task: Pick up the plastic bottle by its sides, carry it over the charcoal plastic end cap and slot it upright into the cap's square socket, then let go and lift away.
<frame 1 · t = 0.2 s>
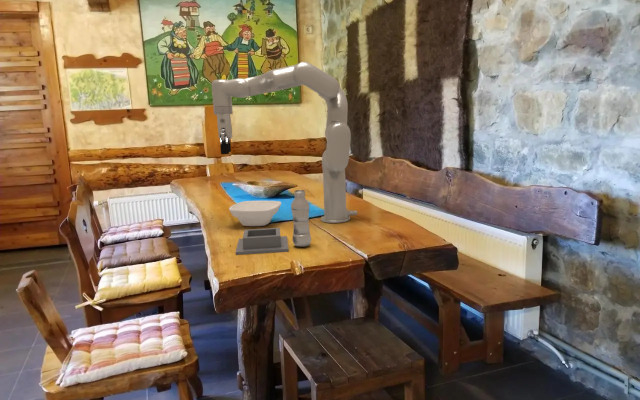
hand: (226, 153, 198), 31 cm above the table, tool pointing down, fingers open, 9 cm apart
plastic bottle: (302, 246, 170), on the table
bowl: (256, 225, 205), on the table
end cap: (262, 246, 172), on the table
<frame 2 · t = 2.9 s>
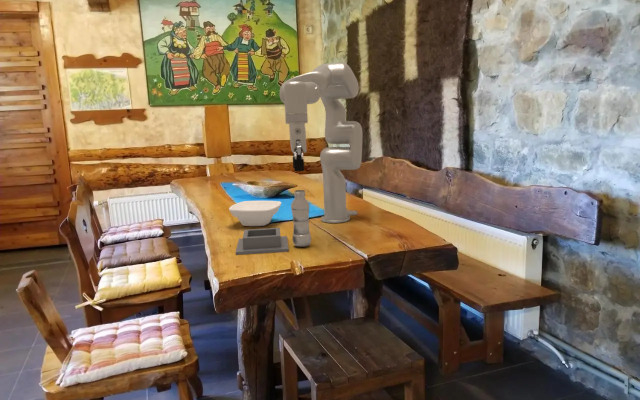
hand: (298, 169, 165), 28 cm above the table, tool pointing down, fingers open, 9 cm apart
nothing on the table moved.
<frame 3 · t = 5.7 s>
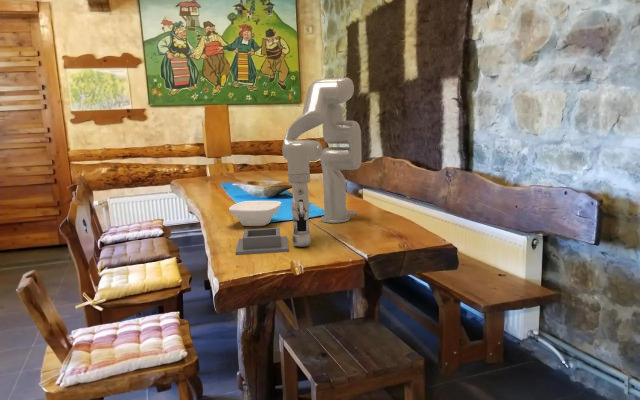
hand: (301, 228, 169), 7 cm above the table, tool pointing down, fingers closed on plastic bottle, 5 cm apart
plastic bottle: (302, 246, 170), on the table, touching gripper
everything else where it was.
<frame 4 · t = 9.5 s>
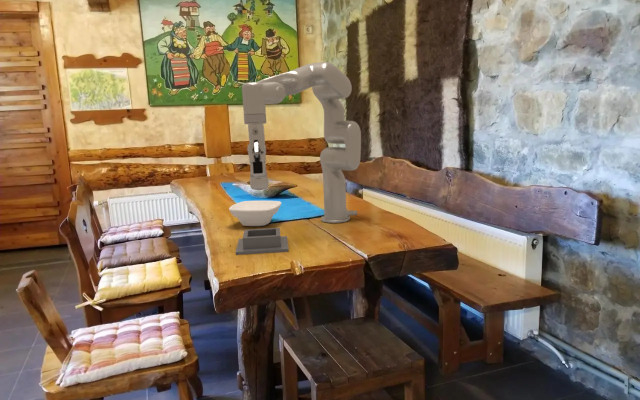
hand: (258, 171, 167), 27 cm above the table, tool pointing down, fingers closed on plastic bottle, 5 cm apart
plastic bottle: (259, 190, 168), point 20 cm above the table, touching gripper
everything else where it was.
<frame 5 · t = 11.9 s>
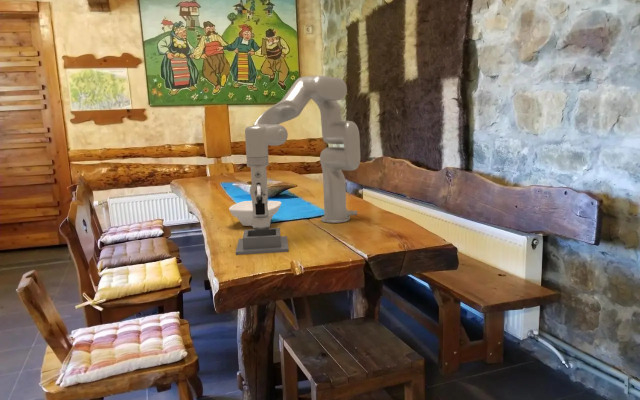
hand: (260, 212, 169), 13 cm above the table, tool pointing down, fingers closed on plastic bottle, 5 cm apart
plastic bottle: (261, 230, 171), point 6 cm above the table, touching gripper
everything else where it was.
when the fingers open (9 cm above the table, at t = 13.5 s): plastic bottle drops 2 cm, resting on end cap.
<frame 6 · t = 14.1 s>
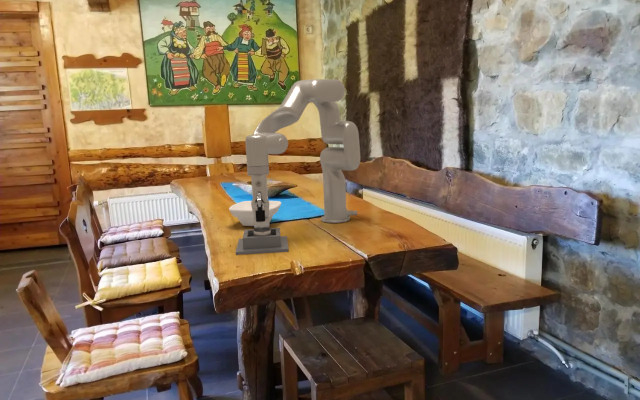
hand: (261, 218, 170), 10 cm above the table, tool pointing down, fingers open, 9 cm apart
plastic bottle: (262, 243, 172), point 1 cm above the table, touching end cap
everything else where it was.
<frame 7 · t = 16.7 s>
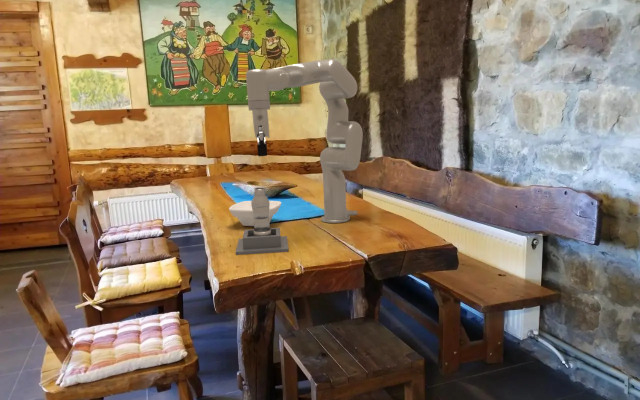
hand: (262, 154, 171), 32 cm above the table, tool pointing down, fingers open, 9 cm apart
nothing on the table moved.
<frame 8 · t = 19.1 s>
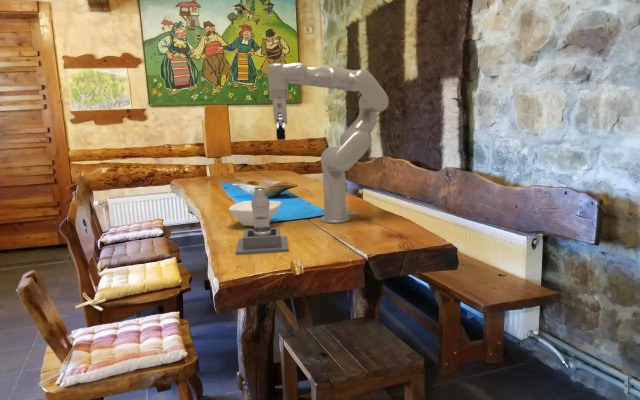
hand: (280, 139, 193), 36 cm above the table, tool pointing down, fingers open, 9 cm apart
nothing on the table moved.
at the end: plastic bottle 0.6 cm off-centre on the end cap, point 0.8 cm above the end cap's base; plastic bottle tilted 0°; the gripper is holding nothing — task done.
